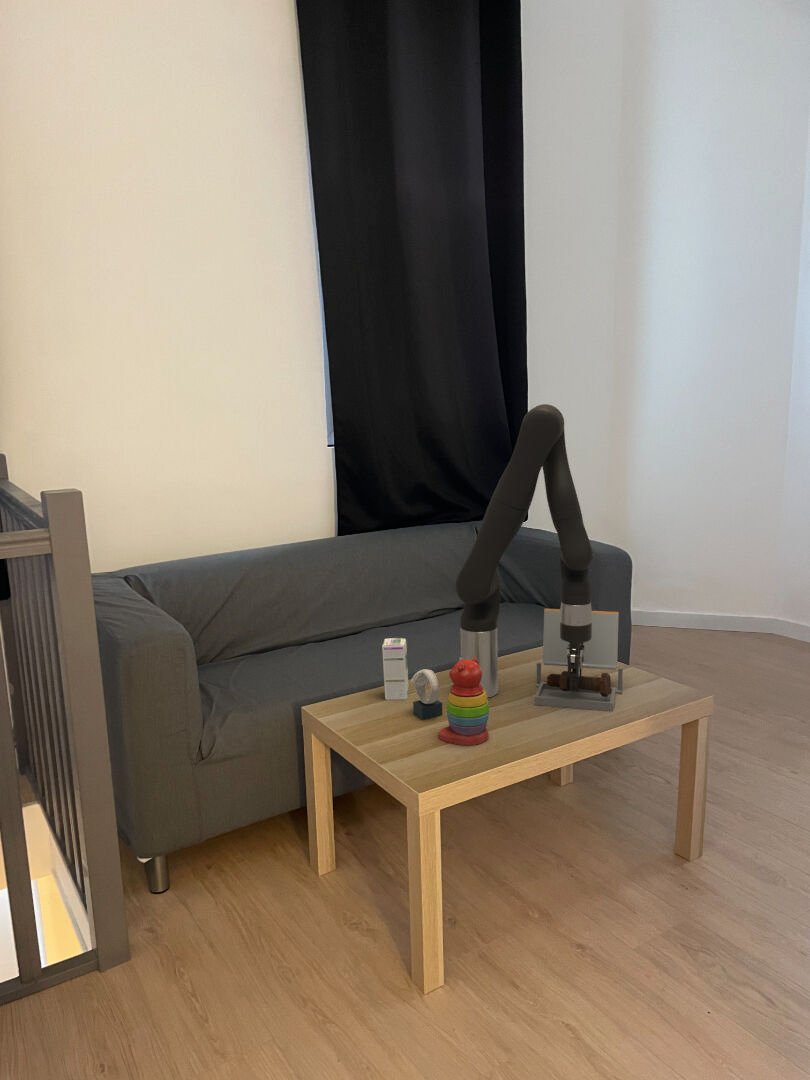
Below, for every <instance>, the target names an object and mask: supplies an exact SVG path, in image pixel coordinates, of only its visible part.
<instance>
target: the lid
mask: <svg viewBox="0 0 810 1080" xmlns="http://www.w3.org/2000/svg"><path fill="white" fill-rule="evenodd" d="M543 613H544V614H543V636H542V637H543V638H542V639H543V640H542V641H543V643H542V664H543V666H553V667H554V666H556V667H567V668H568V666H567V647H568V644H570V643H569V642H567V641H563V640H562V639H561V638H560V608H544V609H543ZM619 615H620V614H619V611H604V610H602V611H600V610H592V638H591V640H589V641H587V642H584V643H583V645H585V650H584V661H583V663H582V664H583V666H582V668H584V669H598V670H613V671H614V670H617V669H618V648H619V643H618V642H619V619H620V618H619V617H620V616H619Z"/></svg>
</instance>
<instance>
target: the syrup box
mask: <svg viewBox="0 0 810 1080" xmlns="http://www.w3.org/2000/svg"><path fill="white" fill-rule="evenodd" d="M381 647H382V668H383V685H384V686H383V689H384V698H385V699H384V700H386V701H388V700H390V701H400V700H401V701H404V700H408V696H409V692H410V689H409V687H410V686H409V670H408V651H407V648H408V647H407V638H404V637H392V638H391V637H390V638H384V641H383V642H382V646H381Z"/></svg>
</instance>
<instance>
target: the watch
mask: <svg viewBox="0 0 810 1080" xmlns="http://www.w3.org/2000/svg"><path fill="white" fill-rule="evenodd" d="M410 681H411V683H412V684H413V688H414V690H415V692H416V695H417V697H418V698H419V700H416V701H413V702H412V706H413V707H412V711H413V712H412V713H413V716H415V717H417V718H419V719H420V720H421V721H424V720H425V721H426V720H429V719H433V718H437V717H441V715H442V716H443V702H442V701H440V700H438V699H439V695H440V689H439V688H440V685H439V680H438V678H437V675H436V673H435V672H434V671H433V670H432V669H426V668H425V669H420V670H419V671H417V672H415V674H414V675H413V676H412V677H411V678H410ZM428 683H429V685H430V691H429V693H428V694H429V695H428V694H427V691H426V688H427V686H428Z"/></svg>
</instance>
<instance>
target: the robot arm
mask: <svg viewBox="0 0 810 1080" xmlns="http://www.w3.org/2000/svg"><path fill="white" fill-rule="evenodd" d="M521 421H522V422H521V425H520V429H519V432H518V433H519V434H518V436H517V440H516V444H515V445H514V449H513V453H512V456H511V458H510V460H509V462H508V464H507V466H506V468H505V469H504V471H503V473H502V475H501V477H500V479H499V480H498V483H497V486H496V487H495V489H494V492H493V494H492V496H491V499H490V501H489V503H488V506H487V507H486V512H485V514H484V517H483V519H482V522H481V524H480V527H479V529H478V533H477V536H476V539H475V541H474V544H473V547H472V548H471V550H470V552H469V554H468V556H467V558H466V560H465V562H464V564H463V566H462V567H461V569H460V571H459V573H458V575H457V577H456V579H455V592H456V594H457V597H458V598H459V600H461V602H462V603H463V604H464V605H463V610H462V613H461V615H460V619H459V620H460V621H459V622H460V623H459V625H460V627H459V628H460V630H459V631H460V656H459V658H458V662H459V661H461V660H472V659H473V658H476V659H477V660H478V665H479V666H480V667H481V670H482V678H481V681H480V683H479V684H480V685H481V686H482V687H483V689H484V690H485V692H486V695H487V699H488V698H491V697H494V696H496V695H497V694H498V693H499V679H498V678H499V671H498V670H499V667H498V666H499V665H498V662H499V661H498V620H499V615H500V602H501V601H500V600H501V587H500V586H501V584H500V583H501V582H500V577H499V576H500V575H499V573H498V572H497V568H498V565H499V563H500V561H501V559H502V557H503V555H504V554H505V552H506V551H507V549H508V547H510V545H511V544H512V542H513V541H514V539H515V538H516V536H517V535H518V533H519V531H520V529H521V527H522V526H523V523H524V521H525V519H526V517H527V515H528V512H529V510H530V507H531V505H532V502H533V498H534V496H535V491H536V488H537V484H538V480H539V475H540V471H541V469H542V471H543V478H544V488H545V494H546V500H547V505H548V508H549V509H548V510H549V514H550V518H551V520H552V525H553V526H554V527H553V528H554V529H555V531H556V534H557V537H558V541H559V546H560V548H559V565H560V574H561V587H560V592H561V593H560V601H561V602H560V608H559V609H560V638H561V639H562V640H563V641H567V642H569V643H570V644H568V647H567V666H568V667H567V666H566V667H567V671H568V673H567V675H568V676H569V690H570V691H573V692H578V691H579V676H583V675H582V666H583V664H582V663H583V661H584V650H585V645H583V643H584V642H587V641H589V640H591V638H592V611H593V610H592V593H591V592H592V588H591V585H592V584H591V580H590V576H589V566H590V565H591V564H592V562H593V557H594V554H593V548H592V545H591V542H590V539H589V536H588V533H587V529H586V528H585V527H586V526H585V524H584V520H583V514H582V508H581V506H580V502H579V497H578V494H577V490H576V486H575V483H574V480H573V476H572V472H571V468H570V464H569V459H568V453H567V447H566V438H565V437H566V435H565V418H564V416H563V414H562V412H561V411H560V410H559V409H558V408H557V407H555V406H554V405H552V404H551V405H550V404H547V403H545V404H543V403H542V404H539V405H536V406H535V407H532V408H531V409H530V410H528V412H527V413H526V414H525V415H524V417H523V419H522V420H521Z"/></svg>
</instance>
